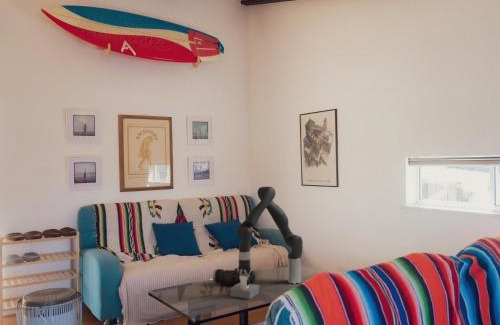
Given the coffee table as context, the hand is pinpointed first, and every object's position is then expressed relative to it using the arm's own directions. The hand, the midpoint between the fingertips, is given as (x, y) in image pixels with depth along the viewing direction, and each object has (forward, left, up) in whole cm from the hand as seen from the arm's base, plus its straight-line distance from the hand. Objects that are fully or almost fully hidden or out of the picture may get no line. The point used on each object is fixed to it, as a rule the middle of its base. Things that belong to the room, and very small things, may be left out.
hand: (244, 284), depth 278 cm
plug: (0, 0, -3) cm, 3 cm away
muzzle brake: (-16, -16, -7) cm, 24 cm away
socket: (0, 0, -6) cm, 6 cm away
